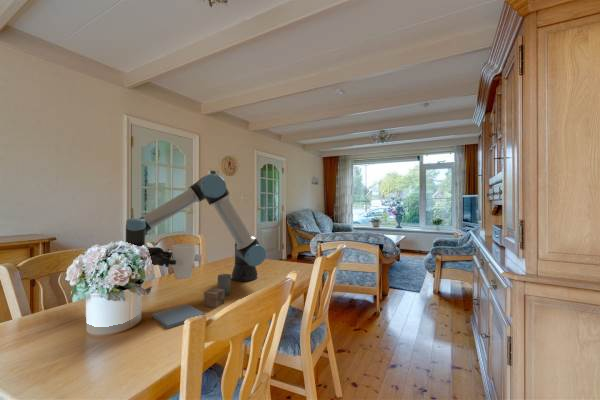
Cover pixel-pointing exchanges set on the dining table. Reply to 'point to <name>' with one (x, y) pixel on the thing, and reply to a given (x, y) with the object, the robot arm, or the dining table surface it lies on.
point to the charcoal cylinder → (224, 283)
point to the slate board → (176, 315)
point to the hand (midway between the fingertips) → (192, 260)
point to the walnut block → (214, 297)
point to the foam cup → (188, 255)
